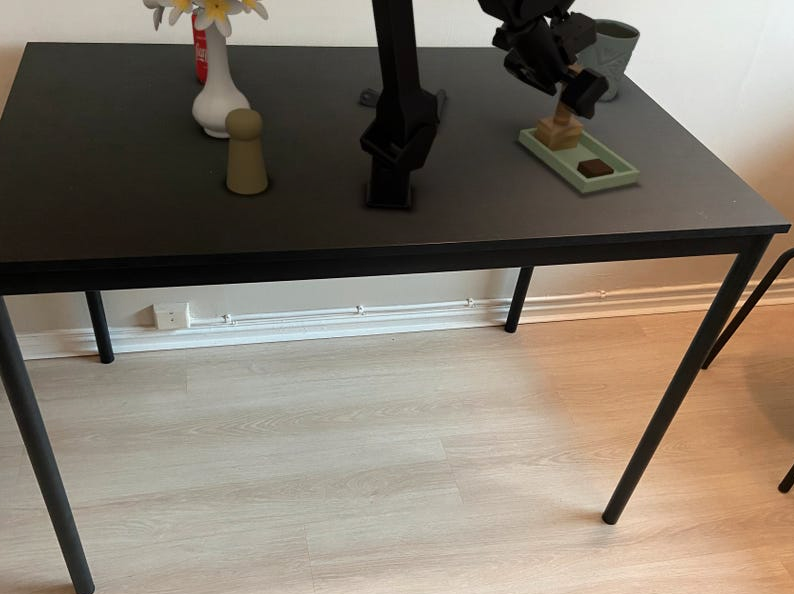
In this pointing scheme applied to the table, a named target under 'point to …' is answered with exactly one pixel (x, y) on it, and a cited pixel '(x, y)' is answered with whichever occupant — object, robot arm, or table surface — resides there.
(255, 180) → the brown pawn
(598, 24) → the grey-green cup
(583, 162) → the dark brown block
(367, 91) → the bracket
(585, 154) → the tray
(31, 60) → the table surface
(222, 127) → the flower vase
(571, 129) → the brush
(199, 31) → the beverage can
